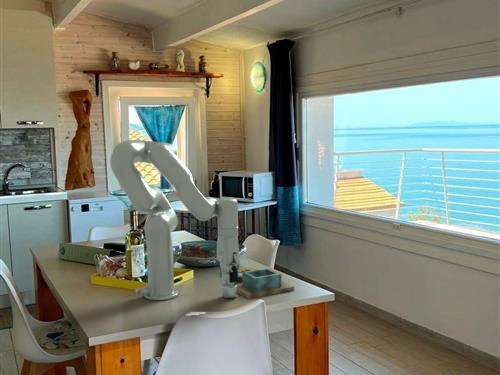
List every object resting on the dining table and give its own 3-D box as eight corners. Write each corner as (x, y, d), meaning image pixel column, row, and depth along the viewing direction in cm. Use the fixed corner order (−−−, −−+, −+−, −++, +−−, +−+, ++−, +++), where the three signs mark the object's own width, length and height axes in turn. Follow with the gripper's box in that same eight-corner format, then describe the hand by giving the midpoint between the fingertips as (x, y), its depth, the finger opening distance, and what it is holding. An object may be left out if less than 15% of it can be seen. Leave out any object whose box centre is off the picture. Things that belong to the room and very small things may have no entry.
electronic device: (260, 275, 234) (260, 268, 234) (250, 285, 219) (250, 277, 219) (241, 274, 236) (241, 266, 236) (230, 284, 221) (230, 276, 221)
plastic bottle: (232, 300, 198) (231, 246, 196) (216, 298, 202) (215, 244, 200) (241, 296, 204) (240, 243, 202) (226, 293, 207) (225, 241, 205)
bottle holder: (248, 298, 200) (248, 281, 200) (230, 288, 214) (229, 272, 213) (294, 290, 210) (294, 273, 209) (274, 281, 223) (273, 265, 222)
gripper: (208, 229, 206) (210, 275, 208) (229, 237, 191) (230, 287, 193) (226, 227, 210) (227, 273, 212) (248, 234, 194) (249, 283, 196)
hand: (229, 279), depth 202 cm, fingers open, 6 cm apart
